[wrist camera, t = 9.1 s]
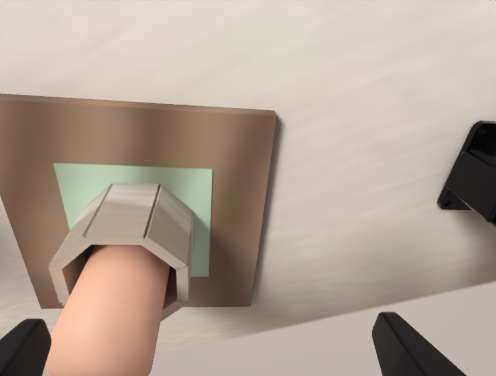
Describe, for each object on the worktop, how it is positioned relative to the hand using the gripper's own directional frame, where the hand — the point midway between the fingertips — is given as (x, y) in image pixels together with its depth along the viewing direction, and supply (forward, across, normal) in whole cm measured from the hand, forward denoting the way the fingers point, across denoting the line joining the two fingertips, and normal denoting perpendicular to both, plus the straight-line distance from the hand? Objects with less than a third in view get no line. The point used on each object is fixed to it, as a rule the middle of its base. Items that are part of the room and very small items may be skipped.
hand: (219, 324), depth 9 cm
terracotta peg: (+12, +5, +6) cm, 14 cm away
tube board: (+13, +5, +6) cm, 15 cm away
